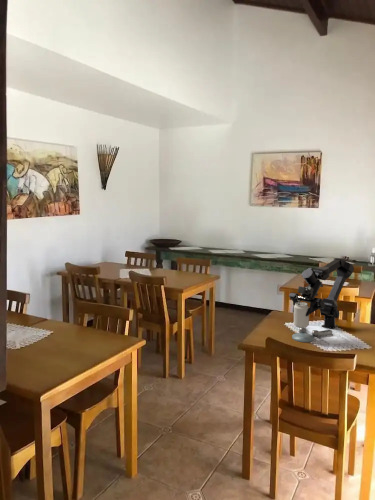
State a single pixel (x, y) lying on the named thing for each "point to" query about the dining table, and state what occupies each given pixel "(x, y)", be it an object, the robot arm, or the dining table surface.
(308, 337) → the pad
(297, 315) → the can
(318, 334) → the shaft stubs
